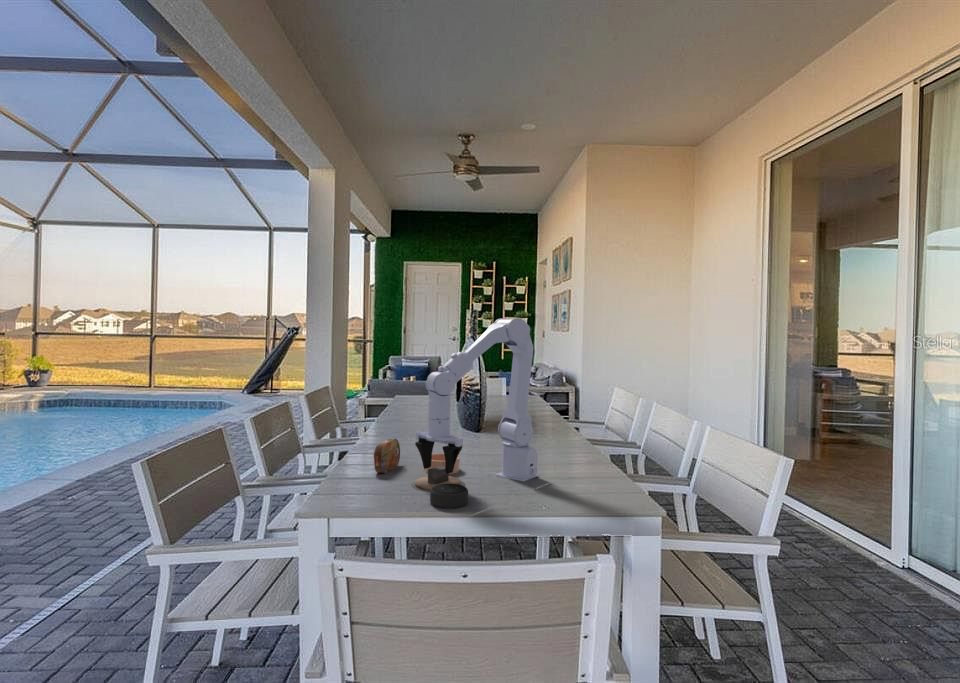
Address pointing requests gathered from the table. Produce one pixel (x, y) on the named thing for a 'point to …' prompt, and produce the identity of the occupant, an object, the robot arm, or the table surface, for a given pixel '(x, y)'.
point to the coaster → (427, 490)
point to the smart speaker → (449, 496)
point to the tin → (386, 455)
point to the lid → (436, 479)
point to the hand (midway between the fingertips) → (438, 470)
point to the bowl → (443, 462)
